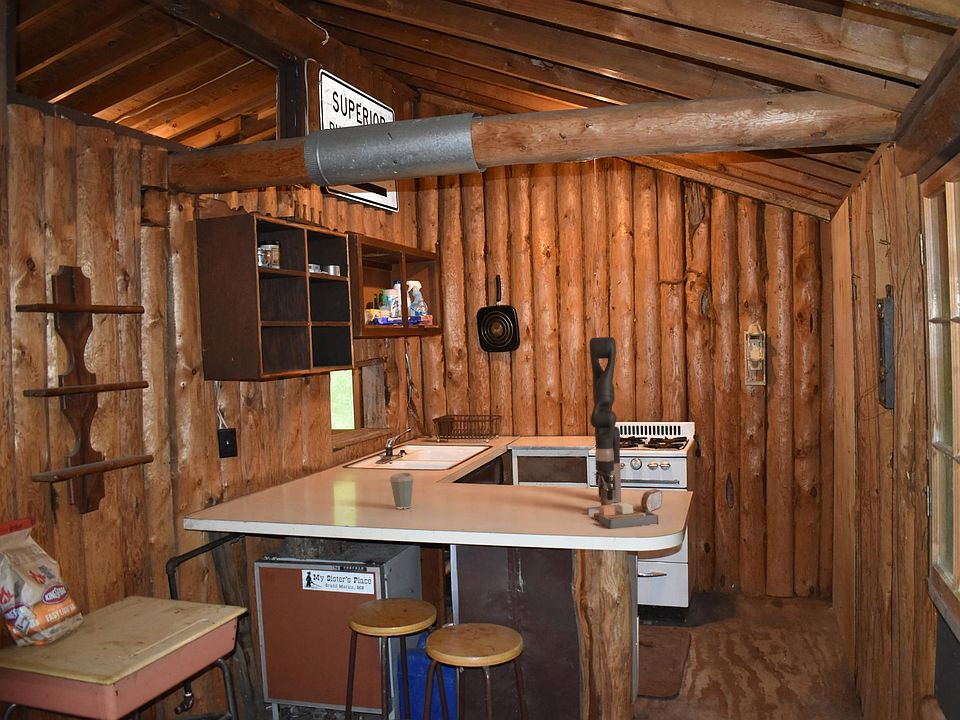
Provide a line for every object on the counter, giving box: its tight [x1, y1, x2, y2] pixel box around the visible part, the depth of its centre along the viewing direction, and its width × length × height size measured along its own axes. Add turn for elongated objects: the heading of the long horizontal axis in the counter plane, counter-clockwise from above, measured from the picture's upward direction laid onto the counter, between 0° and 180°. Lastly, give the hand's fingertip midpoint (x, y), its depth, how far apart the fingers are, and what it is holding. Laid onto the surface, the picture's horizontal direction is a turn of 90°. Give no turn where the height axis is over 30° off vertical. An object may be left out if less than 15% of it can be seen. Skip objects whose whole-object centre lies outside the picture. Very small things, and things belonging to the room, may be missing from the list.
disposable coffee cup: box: [389, 472, 414, 508], centre depth 340 cm, size 11×11×15 cm
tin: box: [640, 488, 663, 512], centre depth 320 cm, size 15×3×8 cm, turn 141°
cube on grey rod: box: [586, 489, 618, 516], centre depth 317 cm, size 3×16×10 cm, turn 105°
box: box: [599, 511, 659, 530], centre depth 297 cm, size 9×20×4 cm, turn 105°
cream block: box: [617, 502, 634, 514], centre depth 309 cm, size 4×4×3 cm
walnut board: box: [593, 509, 645, 522], centre depth 306 cm, size 10×17×2 cm, turn 105°
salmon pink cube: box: [598, 504, 615, 516], centre depth 307 cm, size 4×4×3 cm
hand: (605, 498), depth 317 cm, fingers open, 8 cm apart
